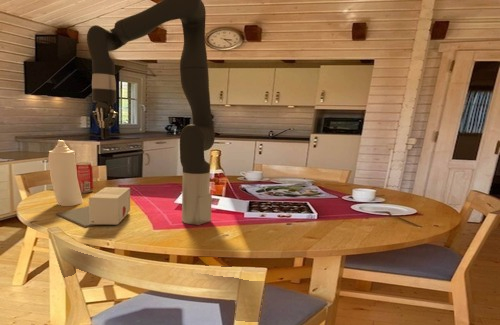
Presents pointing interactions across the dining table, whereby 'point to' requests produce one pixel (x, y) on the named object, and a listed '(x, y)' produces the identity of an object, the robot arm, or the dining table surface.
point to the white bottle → (64, 175)
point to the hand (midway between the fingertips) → (105, 138)
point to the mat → (78, 216)
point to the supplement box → (109, 205)
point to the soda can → (85, 176)
